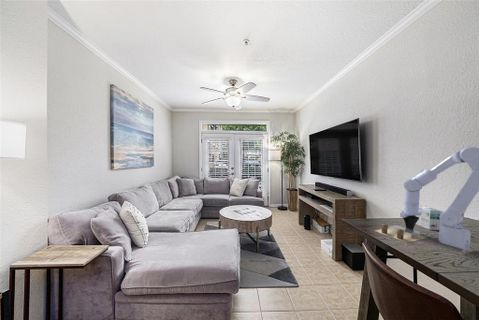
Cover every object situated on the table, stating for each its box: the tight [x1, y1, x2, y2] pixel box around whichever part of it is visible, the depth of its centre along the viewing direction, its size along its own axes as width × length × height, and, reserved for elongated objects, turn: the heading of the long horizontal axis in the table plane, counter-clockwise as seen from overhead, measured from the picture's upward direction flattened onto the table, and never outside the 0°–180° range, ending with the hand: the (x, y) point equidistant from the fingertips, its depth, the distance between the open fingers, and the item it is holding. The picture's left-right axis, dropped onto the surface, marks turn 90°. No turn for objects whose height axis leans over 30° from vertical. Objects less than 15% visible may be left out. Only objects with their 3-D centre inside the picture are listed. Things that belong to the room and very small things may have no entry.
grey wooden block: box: [388, 224, 421, 238], centre depth 105 cm, size 10×7×2 cm
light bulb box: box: [415, 205, 443, 231], centre depth 121 cm, size 11×7×11 cm, turn 179°
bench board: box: [373, 223, 427, 243], centre depth 104 cm, size 15×16×5 cm
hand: (409, 230), depth 108 cm, fingers closed
